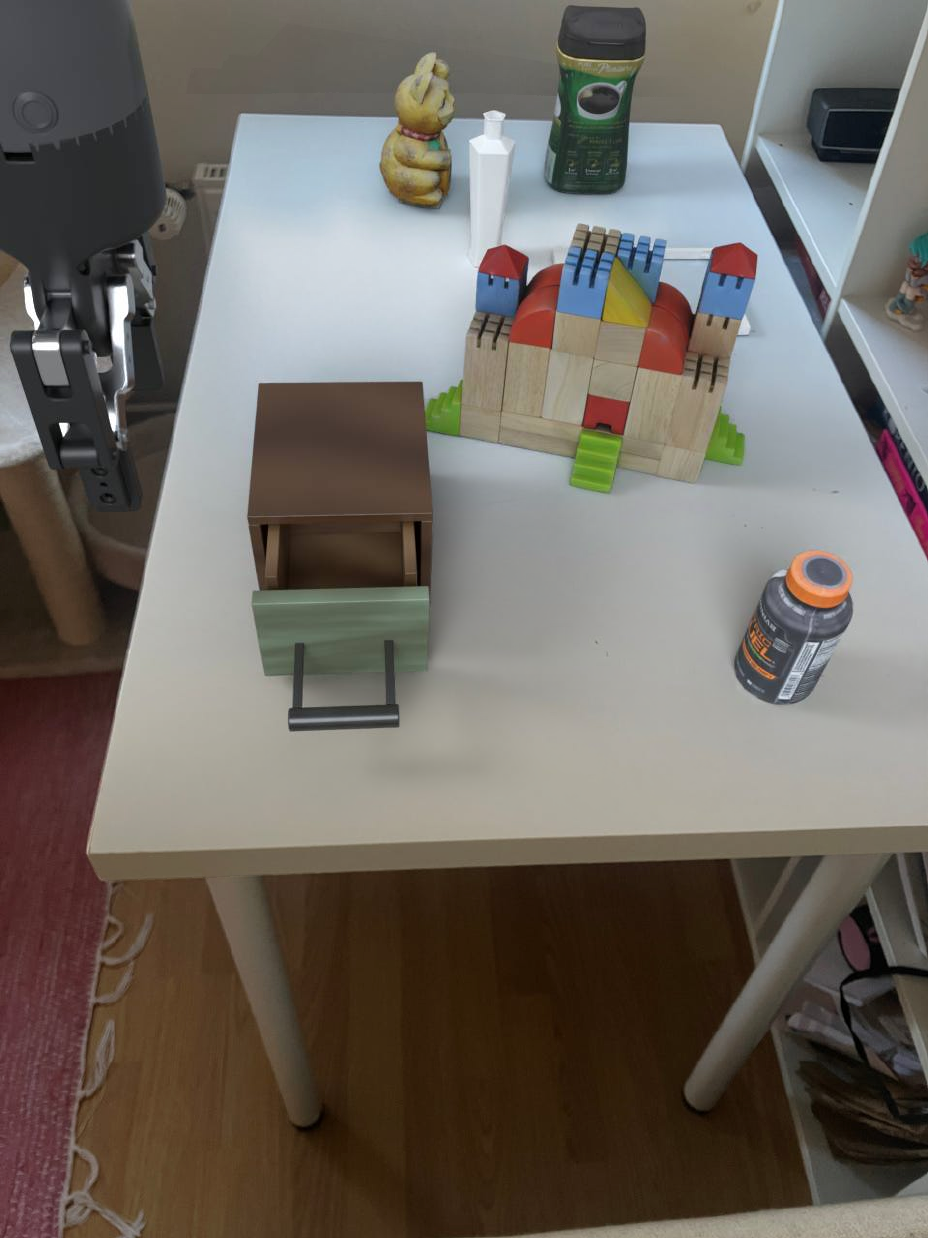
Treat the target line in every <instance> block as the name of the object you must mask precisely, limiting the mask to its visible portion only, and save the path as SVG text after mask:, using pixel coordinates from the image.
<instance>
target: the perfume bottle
mask: <svg viewBox="0 0 928 1238" xmlns="http://www.w3.org/2000/svg"><path fill="white" fill-rule="evenodd" d="M482 114H483V117H484V120H483V121H484V122H483V133H481V134H480V135H478V136H475V137H473V138H471V139H469V140H468V153H469V155H468V156H469V201H470V203H469V204H470V205H469V206H470V245H469V248H468V251H467V254H466V257H467V258H468V260H469V261H470V263H471V264H472V266H473V267H475V268H479V266H480V264H481V262H482V260H483V258H484V256H485V254H486V252H487V250H488V249H490V248H494V247H497V246H501V245H502V244H501V243H502V237H503V236H502V235H503V230H504V222H505V218H506V217H505V216H506V209H507V203H508V196H509V190H510V183H511V175H512V170H513V169H512V168H513V162H514V155H515V149H516V140H514V139H512V138H510V137H508V136H507V135H504V127H505V125H504V122H505V118H506V116H507V114H506V113H504V112H501V111H499V110H495V109H494V110H489V111H487V112H484V113H482Z"/></svg>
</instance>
